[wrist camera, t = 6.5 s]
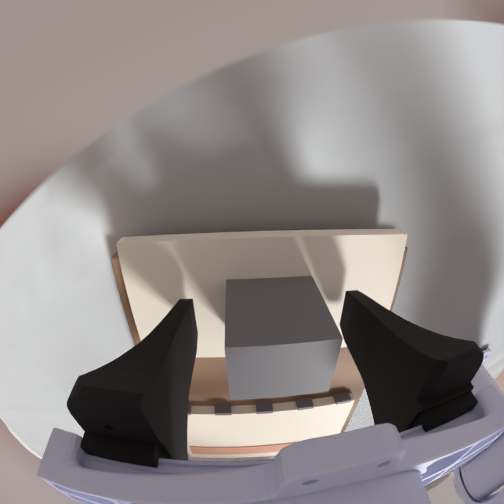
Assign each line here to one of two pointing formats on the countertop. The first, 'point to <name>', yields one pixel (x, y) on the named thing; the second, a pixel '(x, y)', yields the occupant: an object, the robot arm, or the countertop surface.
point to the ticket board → (215, 371)
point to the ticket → (263, 426)
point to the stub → (263, 297)
